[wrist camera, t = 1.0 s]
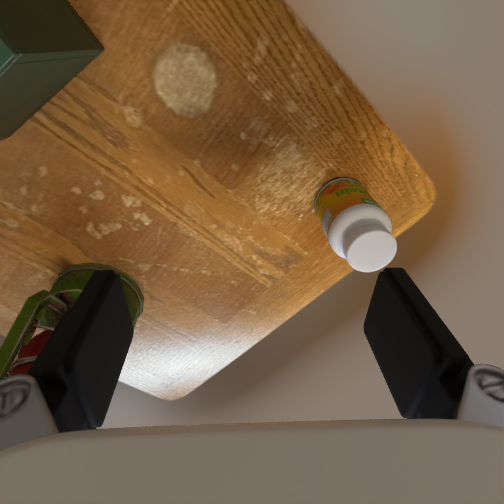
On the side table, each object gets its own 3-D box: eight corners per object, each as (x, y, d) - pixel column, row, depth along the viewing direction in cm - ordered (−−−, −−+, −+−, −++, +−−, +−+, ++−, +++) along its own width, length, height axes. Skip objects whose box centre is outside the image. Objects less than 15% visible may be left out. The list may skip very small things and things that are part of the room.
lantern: (23, 267, 36) (-446, 767, 11) (105, 239, 35) (-228, 746, 10) (95, 345, 44) (-94, 751, 19) (165, 324, 42) (63, 737, 17)
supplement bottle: (370, 177, 32) (416, 222, 24) (359, 224, 35) (396, 279, 27) (317, 176, 32) (345, 221, 24) (310, 223, 35) (333, 279, 27)
